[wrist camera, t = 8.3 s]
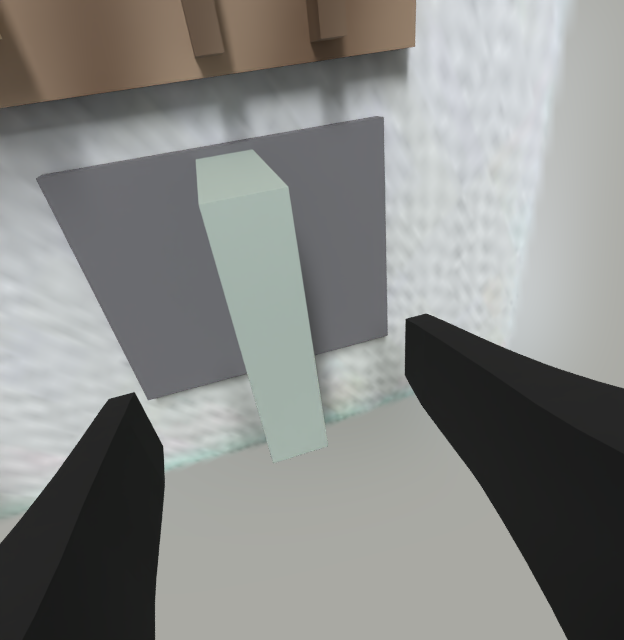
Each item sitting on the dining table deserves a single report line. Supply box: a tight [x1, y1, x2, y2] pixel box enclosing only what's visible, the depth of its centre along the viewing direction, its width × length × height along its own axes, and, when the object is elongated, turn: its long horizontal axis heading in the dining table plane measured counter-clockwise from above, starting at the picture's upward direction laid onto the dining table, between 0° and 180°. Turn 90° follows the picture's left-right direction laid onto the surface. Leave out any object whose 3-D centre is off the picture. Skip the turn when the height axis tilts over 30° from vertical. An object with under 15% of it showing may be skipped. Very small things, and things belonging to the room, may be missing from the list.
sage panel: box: [196, 149, 328, 463], centre depth 13 cm, size 2×9×6 cm, turn 8°
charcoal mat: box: [36, 116, 388, 400], centre depth 16 cm, size 12×10×1 cm
